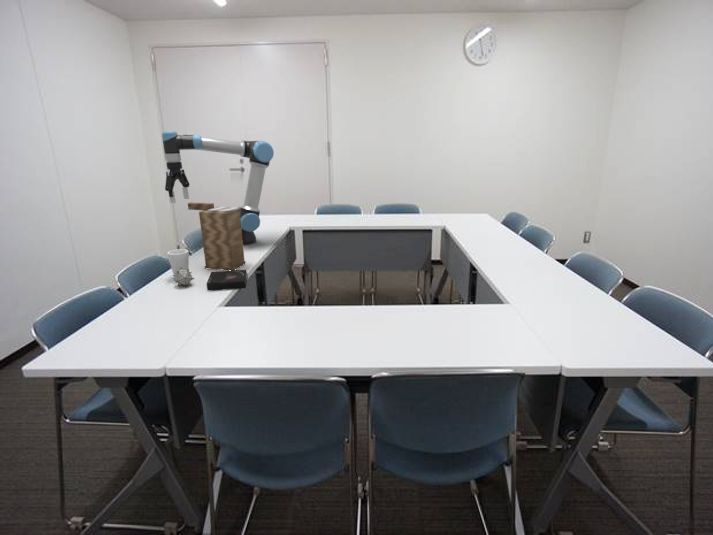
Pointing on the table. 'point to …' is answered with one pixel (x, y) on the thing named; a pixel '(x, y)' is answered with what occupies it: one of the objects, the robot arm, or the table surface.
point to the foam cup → (179, 260)
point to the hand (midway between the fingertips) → (180, 200)
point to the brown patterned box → (222, 239)
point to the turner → (210, 207)
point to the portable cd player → (227, 280)
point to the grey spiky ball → (183, 277)
